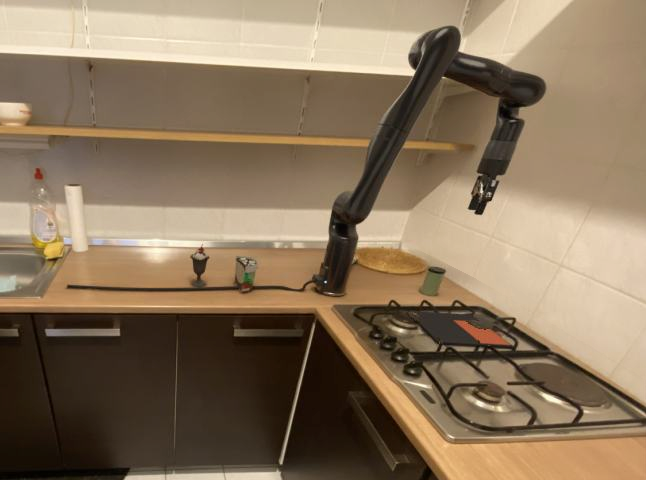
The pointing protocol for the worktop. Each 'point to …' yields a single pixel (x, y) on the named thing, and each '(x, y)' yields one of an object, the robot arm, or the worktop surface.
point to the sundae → (199, 265)
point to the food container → (245, 273)
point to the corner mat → (459, 330)
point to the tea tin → (433, 281)
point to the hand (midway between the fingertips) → (474, 212)
